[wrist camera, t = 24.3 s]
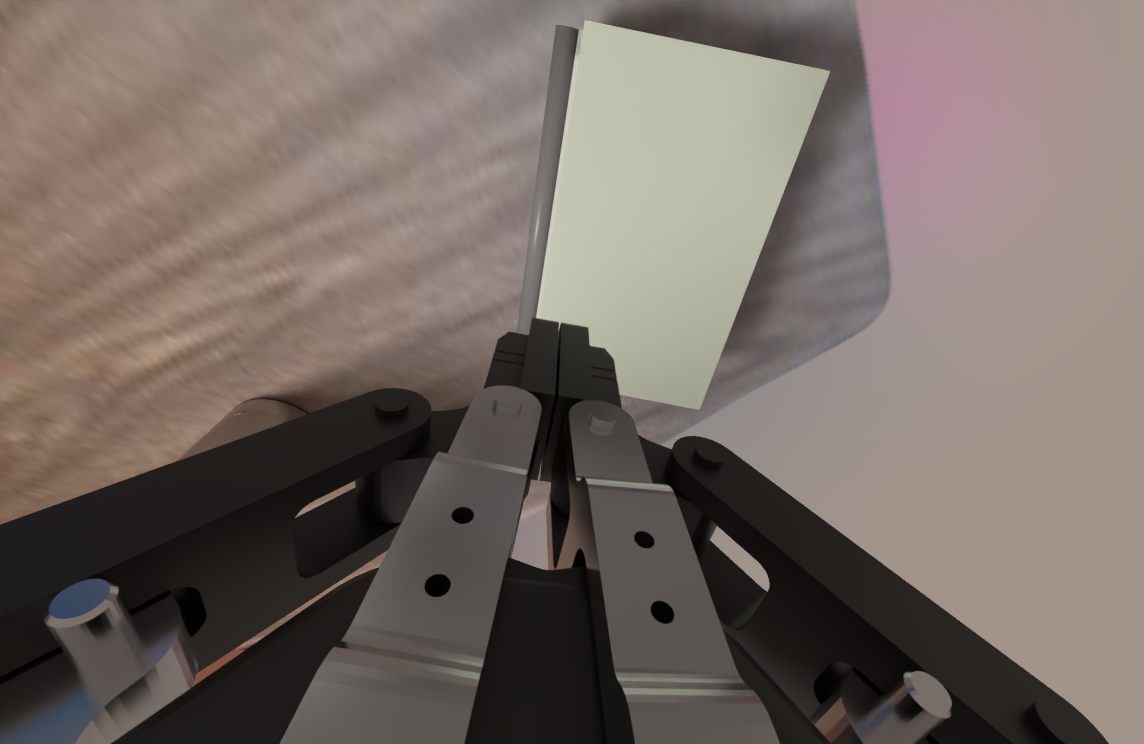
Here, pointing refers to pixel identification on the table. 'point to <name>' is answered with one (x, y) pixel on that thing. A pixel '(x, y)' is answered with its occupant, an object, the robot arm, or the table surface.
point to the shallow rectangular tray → (549, 170)
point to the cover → (669, 199)
